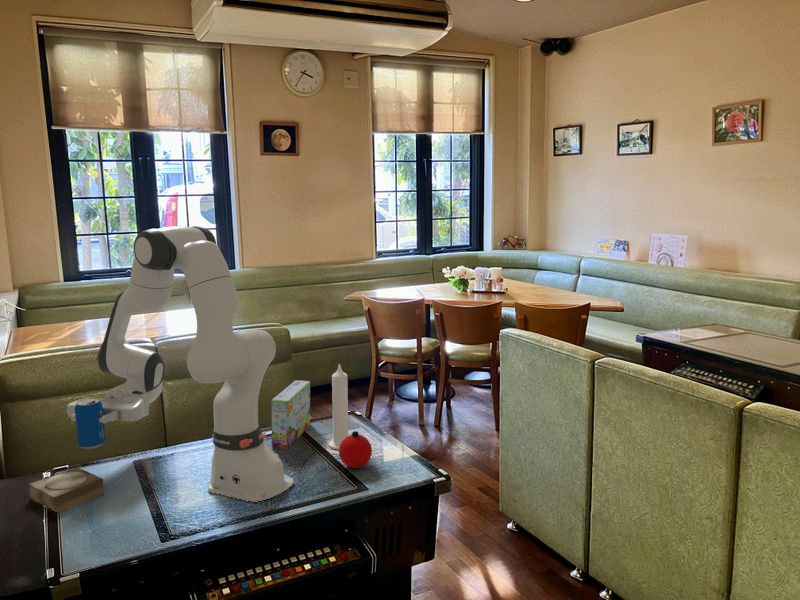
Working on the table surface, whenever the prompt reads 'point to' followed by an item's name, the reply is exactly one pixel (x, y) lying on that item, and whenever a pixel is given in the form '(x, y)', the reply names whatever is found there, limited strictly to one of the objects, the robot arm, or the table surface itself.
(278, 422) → the snack box
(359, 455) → the ornament
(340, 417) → the candle
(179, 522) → the table surface
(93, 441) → the beverage can
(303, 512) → the table surface
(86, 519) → the table surface
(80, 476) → the base block
